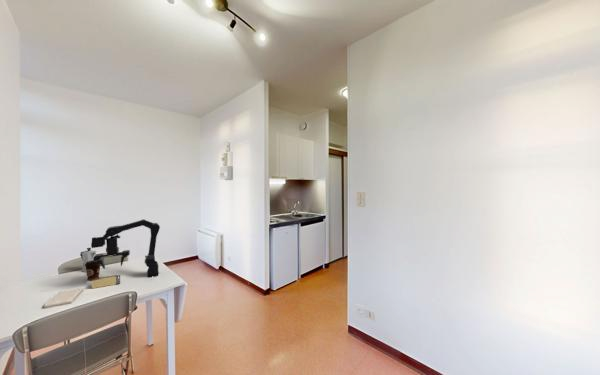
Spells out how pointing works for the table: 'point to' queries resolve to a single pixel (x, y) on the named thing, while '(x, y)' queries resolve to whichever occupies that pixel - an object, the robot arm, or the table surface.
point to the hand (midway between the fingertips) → (112, 267)
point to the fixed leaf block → (105, 277)
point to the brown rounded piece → (92, 269)
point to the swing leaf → (106, 281)
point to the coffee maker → (87, 257)
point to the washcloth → (64, 297)
